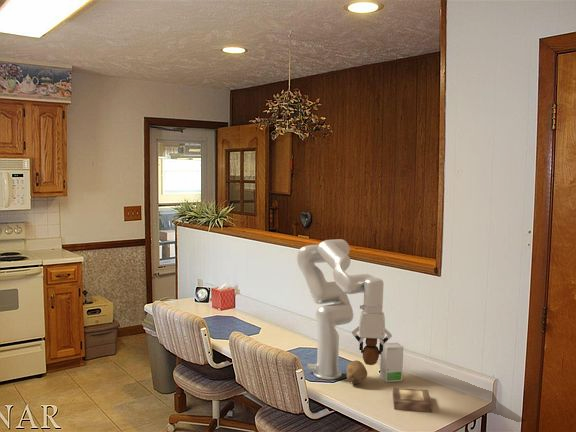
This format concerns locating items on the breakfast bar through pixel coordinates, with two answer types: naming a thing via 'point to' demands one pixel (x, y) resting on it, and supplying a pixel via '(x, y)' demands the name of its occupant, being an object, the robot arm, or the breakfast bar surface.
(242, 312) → the breakfast bar surface
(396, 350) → the skincare box
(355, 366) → the natural sponge
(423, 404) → the walnut plinth
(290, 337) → the breakfast bar surface
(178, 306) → the breakfast bar surface
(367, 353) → the wooden figurine
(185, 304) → the breakfast bar surface
